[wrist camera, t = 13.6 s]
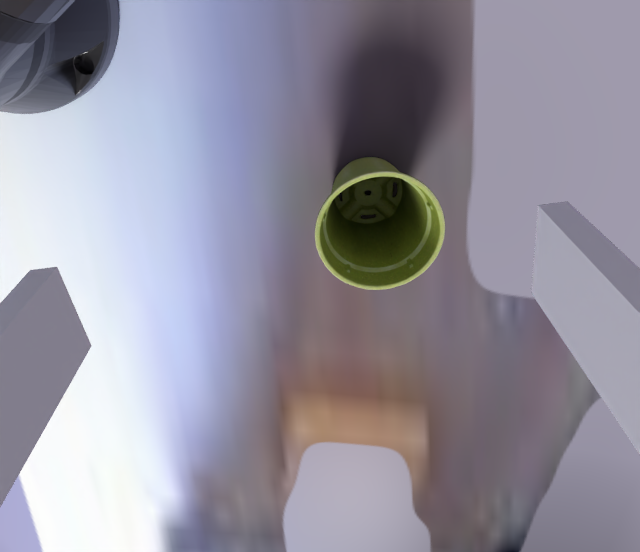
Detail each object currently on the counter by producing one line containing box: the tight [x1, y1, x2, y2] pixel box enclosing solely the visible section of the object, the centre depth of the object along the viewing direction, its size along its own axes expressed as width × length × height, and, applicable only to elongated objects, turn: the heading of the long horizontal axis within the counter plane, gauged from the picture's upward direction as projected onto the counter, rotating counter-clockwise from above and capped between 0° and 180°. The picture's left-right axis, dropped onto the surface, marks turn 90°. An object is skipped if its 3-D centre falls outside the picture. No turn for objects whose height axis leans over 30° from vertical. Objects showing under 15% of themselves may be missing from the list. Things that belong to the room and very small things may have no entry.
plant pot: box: [315, 157, 445, 290], centre depth 43 cm, size 9×9×9 cm
